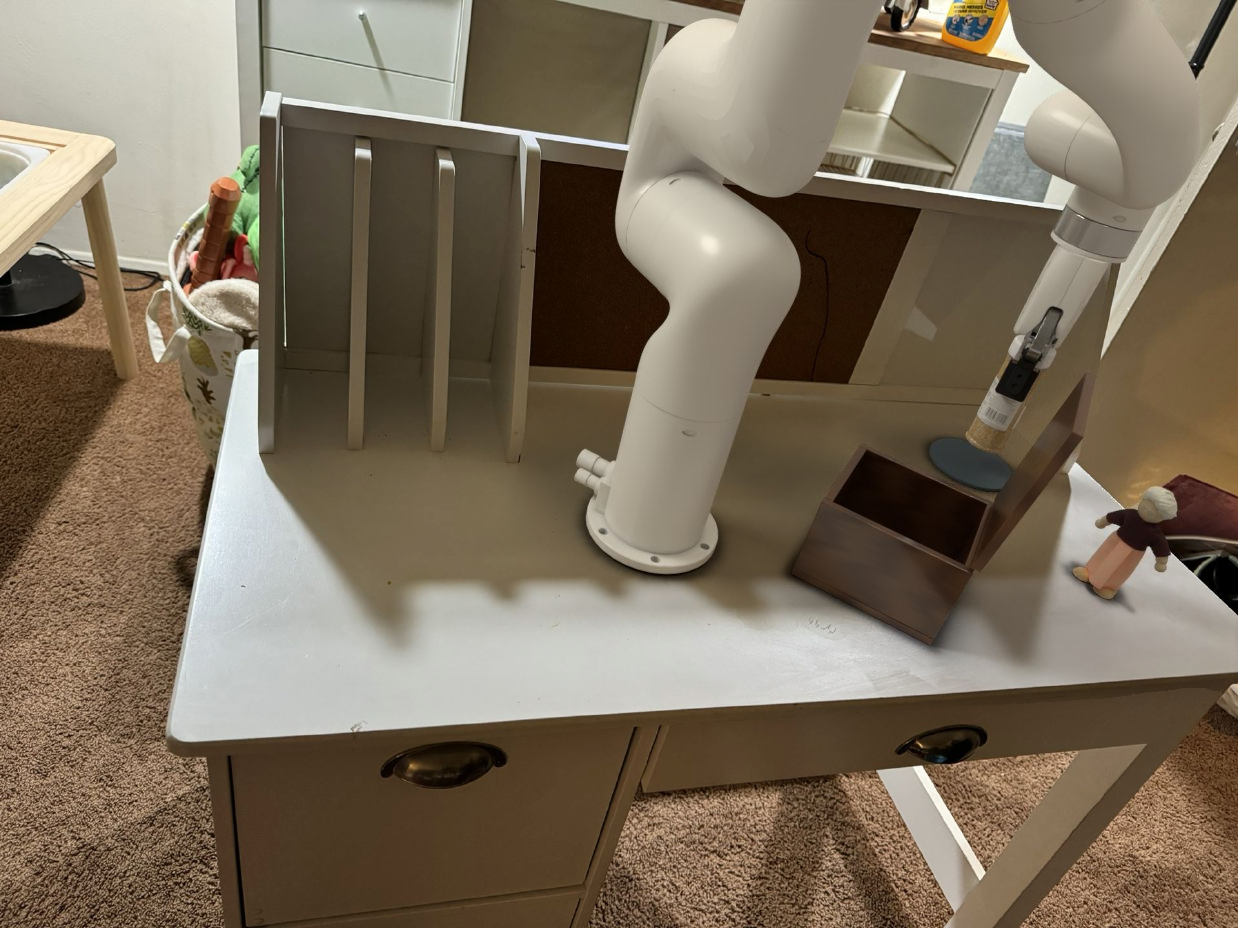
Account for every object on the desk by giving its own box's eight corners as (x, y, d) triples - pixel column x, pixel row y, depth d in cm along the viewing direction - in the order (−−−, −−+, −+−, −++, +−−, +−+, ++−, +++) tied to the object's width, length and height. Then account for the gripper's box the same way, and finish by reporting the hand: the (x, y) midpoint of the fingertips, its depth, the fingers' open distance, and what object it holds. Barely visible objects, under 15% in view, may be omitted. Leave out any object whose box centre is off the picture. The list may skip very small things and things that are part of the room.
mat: (920, 465, 101) (922, 462, 101) (938, 430, 109) (940, 428, 109) (1005, 503, 98) (1006, 500, 98) (1017, 465, 106) (1019, 462, 106)
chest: (790, 573, 81) (821, 501, 76) (831, 510, 91) (861, 442, 85) (930, 645, 77) (972, 574, 72) (957, 571, 86) (997, 503, 81)
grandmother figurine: (1056, 569, 90) (1121, 473, 83) (1072, 557, 92) (1136, 463, 85) (1127, 618, 86) (1202, 521, 78) (1142, 604, 88) (1216, 508, 81)
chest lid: (1072, 431, 63) (1084, 437, 63) (1086, 370, 72) (1096, 375, 72) (970, 567, 72) (980, 572, 71) (995, 497, 81) (1003, 501, 81)
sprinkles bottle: (1009, 450, 102) (1066, 351, 94) (987, 458, 99) (1042, 356, 91) (978, 429, 104) (1030, 330, 97) (955, 435, 102) (1007, 335, 94)
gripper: (1065, 204, 94) (991, 349, 105) (1047, 240, 82) (965, 402, 92) (1136, 227, 92) (1053, 374, 103) (1129, 269, 79) (1035, 432, 90)
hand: (1012, 386), depth 97 cm, fingers closed on sprinkles bottle, 4 cm apart
